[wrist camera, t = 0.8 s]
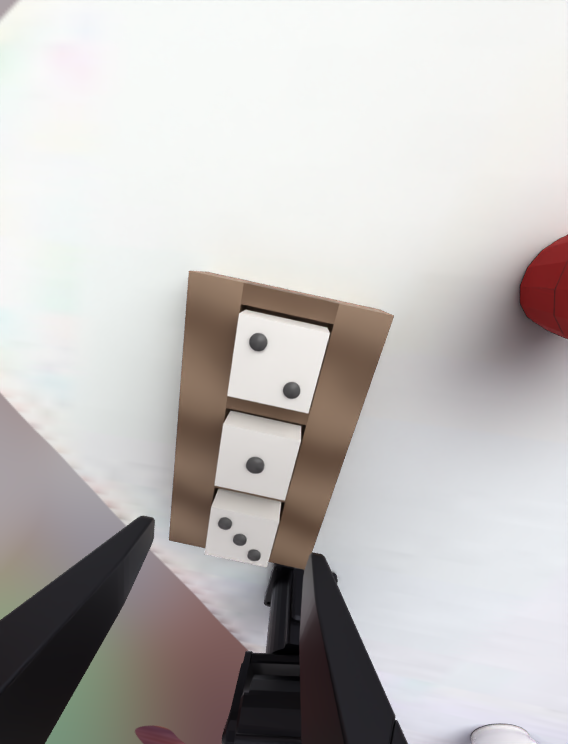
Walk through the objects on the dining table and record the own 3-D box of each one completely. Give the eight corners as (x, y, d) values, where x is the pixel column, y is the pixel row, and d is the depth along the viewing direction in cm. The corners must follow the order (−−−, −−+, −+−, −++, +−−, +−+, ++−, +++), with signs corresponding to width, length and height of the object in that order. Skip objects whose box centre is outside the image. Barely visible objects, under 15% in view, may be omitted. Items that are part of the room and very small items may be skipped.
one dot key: (286, 481, 20) (284, 503, 18) (221, 467, 20) (213, 487, 18) (301, 425, 18) (300, 442, 16) (230, 410, 18) (222, 425, 16)
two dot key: (307, 400, 18) (308, 415, 16) (234, 384, 18) (226, 397, 16) (327, 327, 16) (330, 334, 14) (246, 309, 16) (238, 313, 14)
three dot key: (269, 545, 22) (266, 570, 21) (211, 533, 22) (203, 556, 21) (281, 501, 21) (279, 523, 19) (218, 488, 21) (210, 509, 19)
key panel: (305, 537, 25) (305, 569, 23) (183, 511, 25) (168, 540, 23) (379, 309, 18) (394, 315, 15) (206, 271, 18) (189, 270, 15)
